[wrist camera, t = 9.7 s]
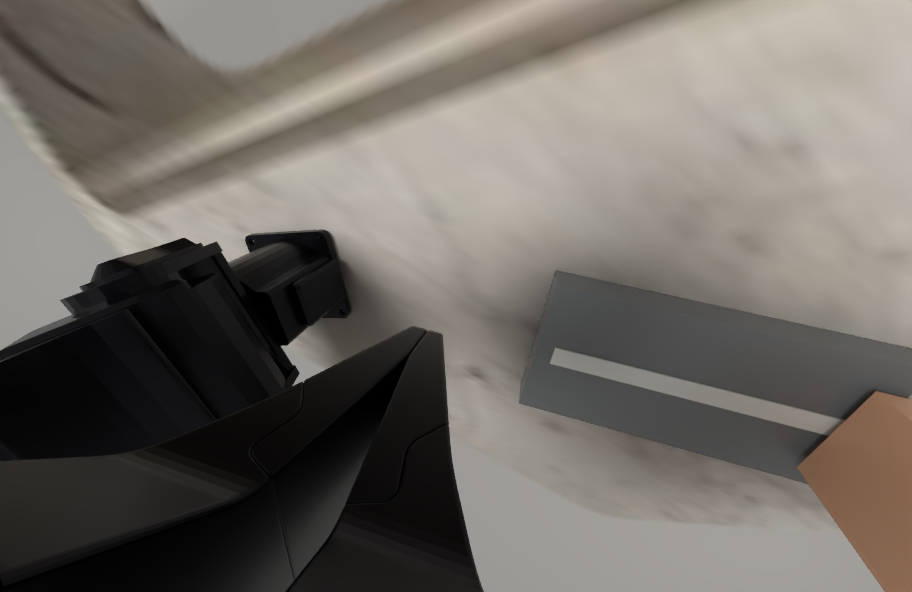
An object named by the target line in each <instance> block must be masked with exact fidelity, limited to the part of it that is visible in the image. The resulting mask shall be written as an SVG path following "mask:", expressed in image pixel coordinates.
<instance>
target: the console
mask: <svg viewBox="0 0 912 592" xmlns="http://www.w3.org/2000/svg"><path fill="white" fill-rule="evenodd" d="M876 391H878V392H882V393H886V394H891V395H895V396H899V397H903V398H907V399H912V349H911V348H907V347H902V346H898V345H893V344H888V343H884V342H879V341H875V340H870V339H866V338H861V337H857V336H852V335H847V334H843V333H838V332H834V331H829V330H825V329H820V328H815V327H811V326H806V325H802V324H797V323H793V322H788V321H784V320H779V319H774V318H770V317H765V316H761V315H756V314H752V313H747V312H742V311H738V310H733V309H729V308H724V307H720V306H715V305H711V304H706V303H701V302H697V301H692V300H688V299H683V298H679V297H674V296H670V295H665V294H660V293H656V292H651V291H647V290H642V289H638V288H633V287H628V286H624V285H619V284H615V283H610V282H606V281H601V280H597V279H592V278H587V277H583V276H578V275H574V274H569V273H565V272H560V271H556V272H555V276H554V279H553V282H552V285H551V289H550V292H549V295H548V298H547V301H546V305H545V308H544V311H543V314H542V317H541V321H540V324H539V327H538V330H537V333H536V337H535V340H534V343H533V346H532V349H531V353H530V356H529V359H528V362H527V365H526V369H525V372H524V375H523V378H522V381H521V388H520V397H519V403H520V404H524V405H527V406H531V407H535V408H538V409H542V410H545V411H549V412H552V413H556V414H560V415H563V416H567V417H570V418H574V419H577V420H581V421H585V422H588V423H592V424H595V425H599V426H602V427H606V428H610V429H613V430H617V431H620V432H624V433H628V434H631V435H635V436H638V437H642V438H645V439H649V440H653V441H656V442H660V443H663V444H667V445H670V446H674V447H678V448H681V449H685V450H688V451H692V452H695V453H699V454H703V455H706V456H710V457H713V458H717V459H721V460H724V461H728V462H731V463H735V464H738V465H742V466H746V467H749V468H753V469H756V470H760V471H763V472H767V473H771V474H774V475H778V476H781V477H785V478H788V479H792V480H796V481H799V482H803V483H806V484H808V482H807V481H806V480H805V478H804V477H803V475H802V474H801V472H800V471H799V470H798V468H797V467H798V466H799V465H800V464H801V463H802V462H803V461H804V460H805V459H806V458H807V457H808V456H809V455H810V454H811V453H812V452H813V451H814V450H815V449H816V448H817V447H818V446H819V445H820V444H821V443H823V442H824V441H825V440H826V439H827V438H828V437H829V436H830V435H831V434H832V433H833V432H834V431H835V430H836V429H837V428H838V427H839V426H840V425H841V424H842V423H843V422H844V421H845V420H847V419H848V418H849V417H850V416H851V415H852V414H853V413H854V412H855V411H856V410H857V409H858V408H859V407H860V406H861V405H862V404H863V403H864V402H865V401H866V400H867V399H868V398H869V397H870V396H872V395H873V394H874V393H875V392H876Z"/></svg>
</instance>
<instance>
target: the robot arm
mask: <svg viewBox="0 0 912 592" xmlns="http://www.w3.org/2000/svg"><path fill="white" fill-rule="evenodd" d="M319 235H320V236H321V237H322V238H323V240H321V239H320V237H319ZM253 240H254V242H255V243H254V242H253ZM245 241H246V244H247V247H248V249H249V252H250V253H248V254H246V255H244V256H242V257H240V258H237V259H235V260H233V261H231V262H229V263H228V262H227V261H226V259H225V257H224V256H223V254H222V253H221V251H222V249H221V247H220V246H219V244H218V243H217V242H214V243H211V244H209V245H206V246H203V245H202V243H199V244H195V243H193V242H191V241H190V240H188V239H186V238H182V239H179V240H176V241H173V242H170V243H167V244H164V245H161V246H158V247H154V248H151V249H148V250H144V251H141V252H137V253H134V254H130V255H126V256H123V257H119V258H116V259H113V260H109V261H107V262H104V263H101V264H98V265H97V267H96V269H95V272H94V274H93V277H92V279H91V282H90V283H88V284H85V285H83V286H80V288H81V290H82V291H83V292H80V293H77V294H75V295H72V296H70V297H67V298H64V299H62V300H60V301H61V302H62V303H63V304H64V306H65V307H66V308H67V309H68V310H69V311H70V312H71V314H72V315H71V316H68V317H66V318H63V319H61V320H58V321H56V322H53V323H51V324H49V325H46V326H43V327H41V328H39V329H36V330H34V331H32V332H30V333H28V334H27V335H25V336H23V337H22V338H20V339H19V340H17V341H15V342H14V343H12V344H10V345H9V346H7V347H5V348H4V349H2V350H1V351H0V592H484V591H483V589H482V587H481V583H480V580H479V577H478V573H477V570H476V566H475V563H474V559H473V555H472V551H471V547H470V543H469V538H468V534H467V529H466V525H465V520H464V516H463V511H462V507H461V502H460V498H459V493H458V489H457V484H456V479H455V474H454V469H453V463H452V456H451V446H450V434H449V426H448V425H449V421H448V407H447V392H446V377H445V363H444V348H443V335H442V334H441V333H438V332H434V331H430V330H429V331H427V330H426V329H423V328H419V327H415V326H412V327H410V328H408V329H406V330H404V331H402V332H400V333H398V334H396V335H394V336H392V337H390V338H388V339H386V340H384V341H382V342H380V343H378V344H376V345H374V346H372V347H370V348H368V349H366V350H364V351H362V352H360V353H358V354H356V355H354V356H352V357H350V358H348V359H346V360H344V361H342V362H340V363H338V364H336V365H334V366H332V367H330V368H328V369H326V370H324V371H322V372H320V373H318V374H316V375H314V376H312V377H310V378H308V379H306V380H305V381H304V383H303V382H300V383H298V384H296V385H294V386H292V385H293V384H294V382H295V380H296V378H297V377H298V375H299V371H298V370H297V368H296V366H294V365H292V364H291V362H290V360H289V359H288V357H287V355H286V354H285V352H284V351H283V349H282V347H281V346H282V345H288V344H289V343H291V342H292V341H293V340H294V339H295V338H296V337H297V336H299V335H300V334H301V333H302V332H303V331H304V330H306V329H307V328H308V327H309V326H312V325H314V324H315V323H316V322H317V321H318V320H319V319H320V318H346V317H348V316H349V315H350V313H351V308H350V305H349V301H348V298H347V295H346V290H345V287H344V283H343V280H342V277H341V273H340V270H339V266H338V263H337V261H336V257H335V254H334V251H333V247H332V244H331V241H330V237H329V235H328V233H327V232H326V231H324V230H306V231H289V232H273V233H256V234H251V235H248V236H246V238H245ZM342 309H343V310H344V311H345V312H343V311H342Z"/></svg>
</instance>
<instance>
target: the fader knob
mask: <svg viewBox="0 0 912 592" xmlns="http://www.w3.org/2000/svg"><path fill="white" fill-rule="evenodd" d="M797 468H798V470H799V471H800V472H801V474H802V475H803V477H804V478H805V480H806V481H807V482H808V484H809V485H810V487H811V488H812V489H813V491H814V492H815V494H816V495H817V497H818V498H819V499H820V501H821V502H822V504H823V505H824V506H825V508H826V509H827V511H828V512H829V513H830V515H831V516H832V518H833V519H834V521H835V522H836V523H837V525H838V526H839V528H840V529H841V530H842V532H843V533H844V535H845V536H846V537H847V539H848V540H849V542H850V543H851V545H852V546H853V547H854V549H855V550H856V551H857V553H858V554H859V556H860V557H861V559H862V560H863V562H864V563H865V564H866V566H867V567H868V569H869V570H870V571H871V573H872V574H873V576H874V577H875V578H876V580H877V581H878V582H879V584H880V586H881V587H882V588H883V590H884V591H885V592H912V399H907V398H903V397H899V396H895V395H891V394H886V393H882V392H878V391H876V392H875V393H874V394H873V395H872V396H870V397H869V398H868V399H867V400H866V401H865V402H864V403H863V404H862V405H861V406H860V407H859V408H858V409H857V410H856V411H855V412H854V413H853V414H852V415H851V416H850V417H849V418H848V419H847V420H845V421H844V422H843V423H842V424H841V425H840V426H839V427H838V428H837V429H836V430H835V431H834V432H833V433H832V434H831V435H830V436H829V437H828V438H827V439H826V440H825V441H824V442H823V443H821V444H820V445H819V446H818V447H817V448H816V449H815V450H814V451H813V452H812V453H811V454H810V455H809V456H808V457H807V458H806V459H805V460H804V461H803V462H802V463H801V464H800V465H799V466H798V467H797Z"/></svg>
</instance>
